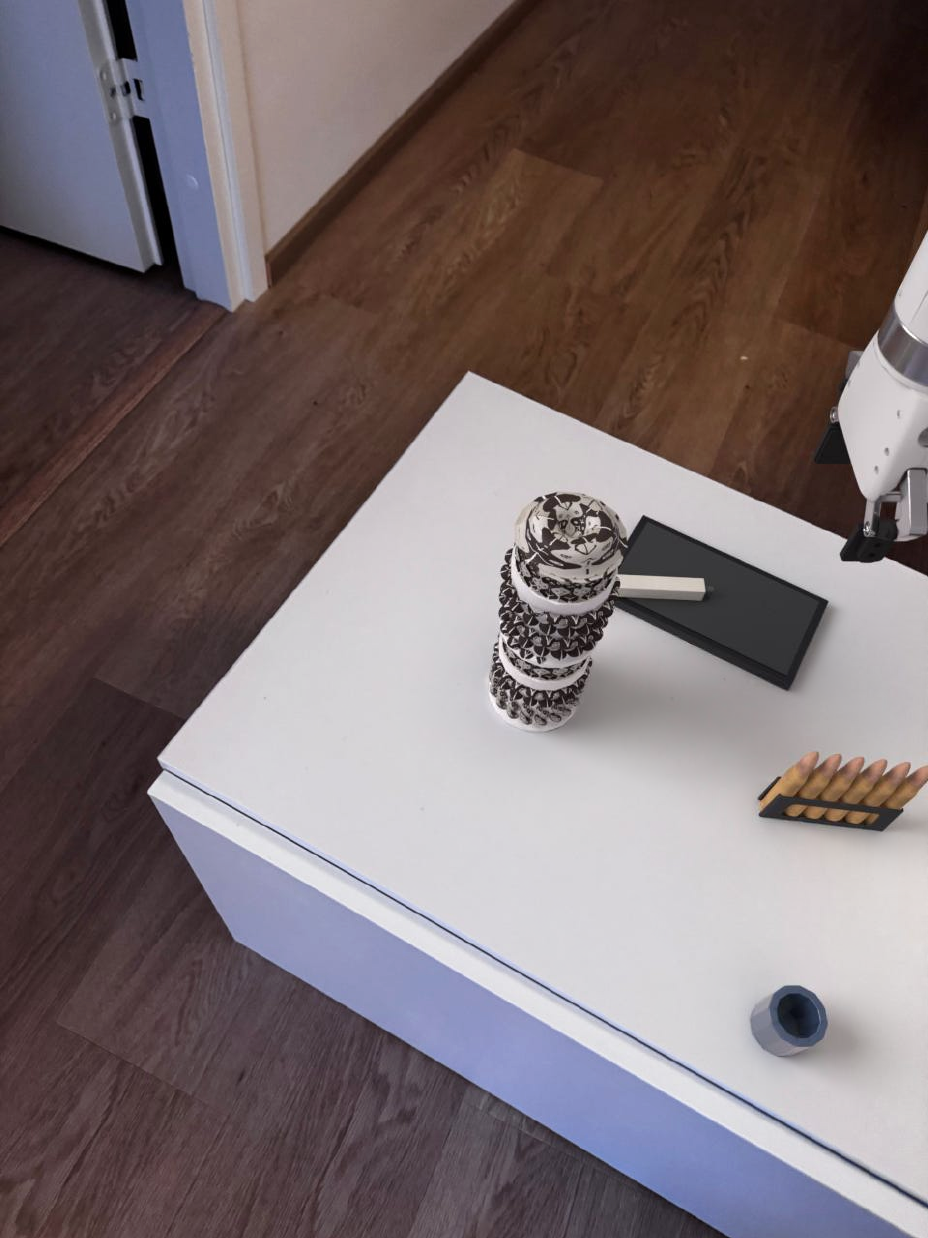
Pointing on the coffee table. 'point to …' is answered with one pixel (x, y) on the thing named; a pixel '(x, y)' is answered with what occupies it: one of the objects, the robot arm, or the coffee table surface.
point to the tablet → (723, 603)
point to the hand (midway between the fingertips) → (845, 508)
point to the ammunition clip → (842, 792)
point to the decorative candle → (554, 607)
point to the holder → (789, 1021)
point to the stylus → (663, 587)
